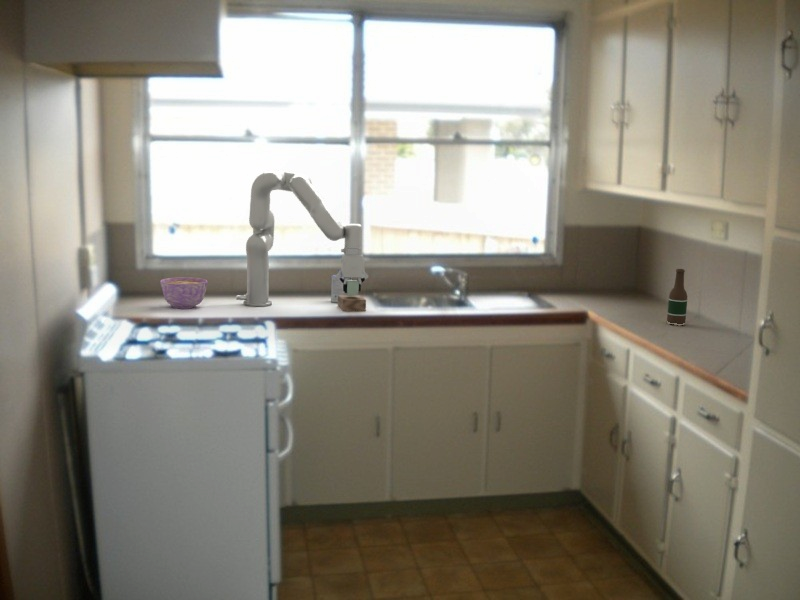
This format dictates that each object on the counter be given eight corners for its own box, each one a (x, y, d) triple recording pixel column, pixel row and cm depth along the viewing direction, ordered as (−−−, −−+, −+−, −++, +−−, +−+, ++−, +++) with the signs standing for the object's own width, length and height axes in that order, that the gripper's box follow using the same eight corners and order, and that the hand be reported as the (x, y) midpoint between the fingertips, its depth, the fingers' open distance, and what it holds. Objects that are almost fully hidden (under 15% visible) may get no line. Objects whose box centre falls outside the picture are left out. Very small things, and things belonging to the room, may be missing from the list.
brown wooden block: (343, 311, 393) (343, 300, 392) (337, 306, 405) (338, 295, 404) (365, 311, 395) (366, 299, 394) (359, 306, 407) (359, 295, 407)
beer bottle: (688, 326, 386) (693, 270, 382) (673, 326, 384) (677, 270, 380) (678, 322, 394) (683, 267, 390) (662, 322, 391) (667, 268, 387)
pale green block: (347, 295, 396) (347, 282, 395) (345, 293, 401) (345, 280, 400) (358, 295, 397) (358, 282, 396) (356, 293, 402) (356, 280, 401)
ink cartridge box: (352, 300, 421) (352, 270, 418) (352, 302, 415) (353, 271, 413) (330, 300, 420) (331, 269, 417) (330, 302, 414) (331, 271, 412)
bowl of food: (217, 307, 391) (217, 281, 389) (177, 313, 376) (177, 285, 374) (190, 301, 404) (190, 275, 402) (151, 306, 389) (150, 279, 388)
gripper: (335, 252, 390) (334, 294, 393) (373, 253, 394) (372, 294, 397) (332, 250, 397) (331, 291, 400) (370, 251, 402) (368, 291, 405)
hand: (351, 292), depth 399 cm, fingers closed on pale green block, 4 cm apart
